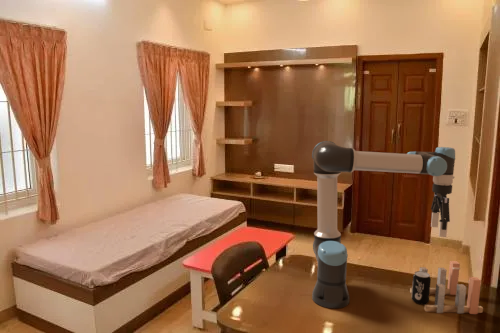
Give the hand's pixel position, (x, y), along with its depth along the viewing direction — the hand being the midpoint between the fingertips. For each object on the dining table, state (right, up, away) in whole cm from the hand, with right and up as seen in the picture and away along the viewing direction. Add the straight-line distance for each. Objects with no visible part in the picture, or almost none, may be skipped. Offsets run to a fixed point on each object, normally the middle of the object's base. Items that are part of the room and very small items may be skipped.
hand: (438, 231), depth 169 cm
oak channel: (-1, -28, -8) cm, 29 cm away
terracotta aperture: (+6, -28, -8) cm, 30 cm away
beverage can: (-11, -28, -7) cm, 31 cm away
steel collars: (-3, -28, -8) cm, 29 cm away
